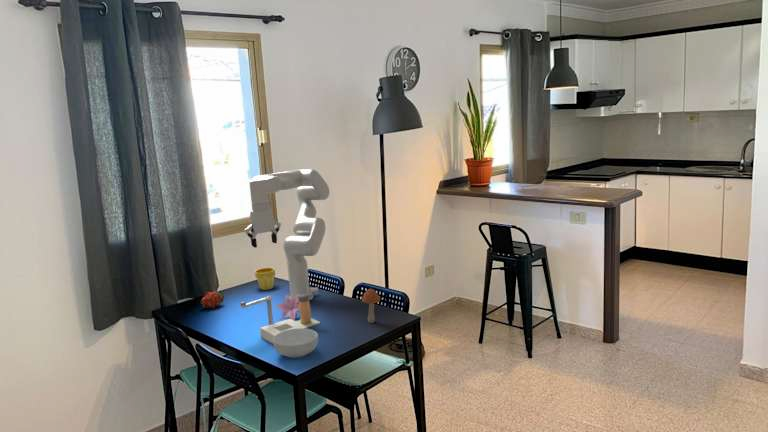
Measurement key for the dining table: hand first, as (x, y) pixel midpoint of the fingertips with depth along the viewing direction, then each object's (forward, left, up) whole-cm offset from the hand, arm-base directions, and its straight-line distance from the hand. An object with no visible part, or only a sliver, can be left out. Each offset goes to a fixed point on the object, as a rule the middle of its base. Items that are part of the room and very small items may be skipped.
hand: (264, 244), depth 262 cm
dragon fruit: (+14, -34, -34) cm, 50 cm away
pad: (-6, +20, -33) cm, 39 cm away
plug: (-6, +20, -33) cm, 39 cm away
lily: (-6, +7, -34) cm, 35 cm away
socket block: (+8, +23, -33) cm, 41 cm away
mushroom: (-27, +40, -34) cm, 59 cm away
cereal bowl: (+13, +45, -34) cm, 58 cm away
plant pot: (-19, -42, -34) cm, 57 cm away
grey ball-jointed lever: (+14, +16, -20) cm, 29 cm away
